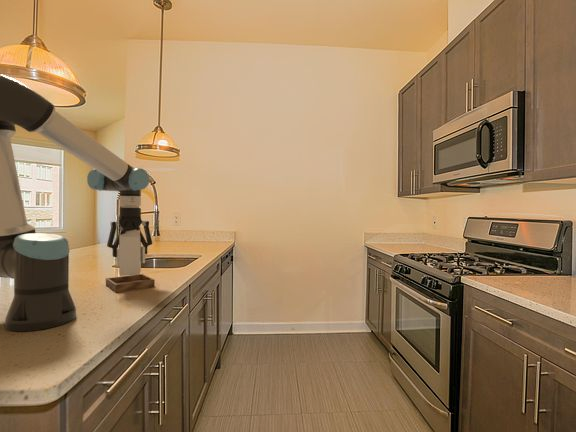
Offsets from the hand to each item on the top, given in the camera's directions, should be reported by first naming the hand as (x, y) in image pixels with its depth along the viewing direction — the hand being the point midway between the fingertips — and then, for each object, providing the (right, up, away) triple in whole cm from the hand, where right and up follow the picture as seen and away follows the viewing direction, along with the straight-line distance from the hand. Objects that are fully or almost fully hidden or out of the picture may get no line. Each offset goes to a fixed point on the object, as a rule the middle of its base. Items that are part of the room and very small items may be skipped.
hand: (130, 263), depth 126 cm
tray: (0, -9, 0) cm, 9 cm away
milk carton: (0, -4, 0) cm, 4 cm away
